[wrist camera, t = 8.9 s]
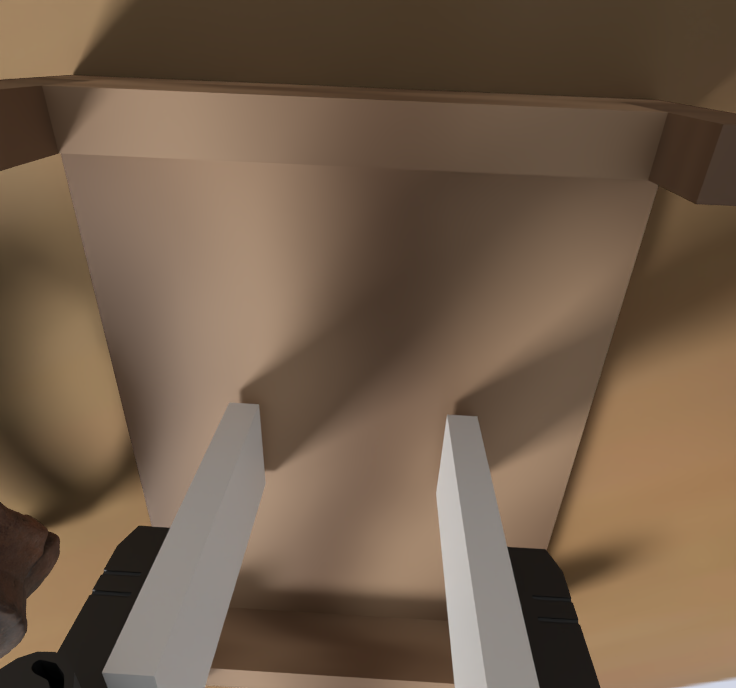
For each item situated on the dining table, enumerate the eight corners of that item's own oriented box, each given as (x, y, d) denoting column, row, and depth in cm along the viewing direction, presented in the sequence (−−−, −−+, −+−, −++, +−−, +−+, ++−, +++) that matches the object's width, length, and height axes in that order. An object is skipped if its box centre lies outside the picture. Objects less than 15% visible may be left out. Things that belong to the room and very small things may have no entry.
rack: (184, 595, 19) (130, 736, 15) (70, 74, 11) (-118, 87, 7) (512, 615, 19) (543, 764, 15) (658, 100, 10) (820, 128, 6)
